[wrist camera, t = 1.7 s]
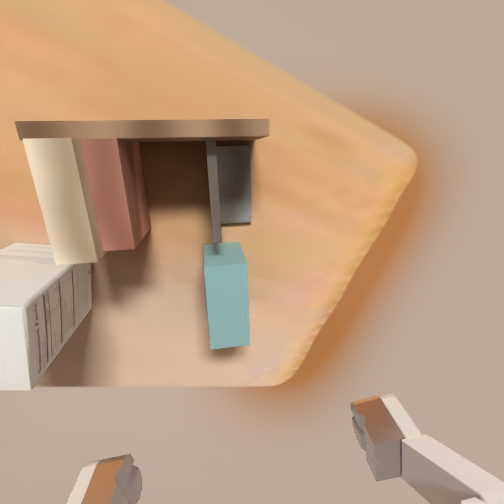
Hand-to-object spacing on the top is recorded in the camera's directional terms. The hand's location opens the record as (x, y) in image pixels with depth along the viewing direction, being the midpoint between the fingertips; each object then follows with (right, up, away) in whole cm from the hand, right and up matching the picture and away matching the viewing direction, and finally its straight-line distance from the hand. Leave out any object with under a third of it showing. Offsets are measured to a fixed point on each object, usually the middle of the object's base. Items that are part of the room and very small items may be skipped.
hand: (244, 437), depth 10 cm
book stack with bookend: (-8, +14, +19) cm, 25 cm away
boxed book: (-3, +4, +24) cm, 24 cm away
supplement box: (-21, +4, +21) cm, 30 cm away
